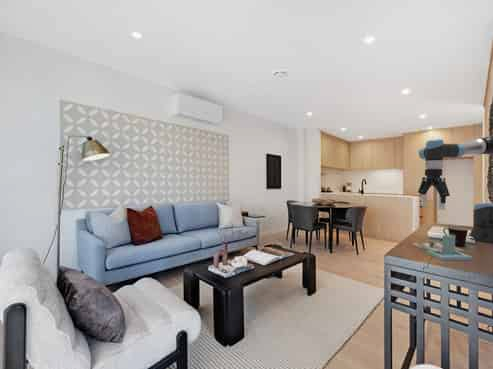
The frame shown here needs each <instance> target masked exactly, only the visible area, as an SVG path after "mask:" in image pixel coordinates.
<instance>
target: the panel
mask: <svg viewBox="0 0 493 369" xmlns="http://www.w3.org/2000/svg"><path fill="white" fill-rule="evenodd" d="M441 243H442V250H425V252H426V254H428V255H430V256H432V257H434V258H436V259H438V260H441V261H457V260H458V261H460V260H463V261H472V260H473V255H469V254H466V253H465V252H459V251H456V250H455V247H456V246H455V237H454V236H451V235H449V234H447V235H445V234H443V235H442V241H441Z"/></svg>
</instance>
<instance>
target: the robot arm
mask: <svg viewBox="0 0 493 369" xmlns="http://www.w3.org/2000/svg"><path fill="white" fill-rule="evenodd" d="M466 155H475V156H476V155H477V156H478V155H479V156H480V155H493V135H490V136H485V137H482V138H475V139H473V140H471V141H464V142H463V141H461V142H455V143H445V142H444V140H443V139H439V138H438V139H429V140H427V141H426V143H425V147H422V148H420V149H419V150H418V157H419V158H420V159H422V160H425V161H424V162H425V163H424V168H425V169H424V176H425V177H422V179H421V183H420V186H419V188H418V191H417V193H419V194H420V206H421V207H426V206H427V198H428V197H427V196H428V195H427V192H428V191H429V190H430V188H431V187H434V188H435V190H436V191H437V193H438V195H439V196H438V204H437V206H438V210H440V211H441V210H442V211H443V210H445V209H446V202H447V197H450V196H451V195H450V191H449V189H448V185H447V183H446V177H441V176H443V168H444V166H443V165H444V159H451V158H452V159H457V158H458V159H459V158H461V157H463V156H466ZM472 223H473V224H472V225H473V226H472V227H471V230H470V232H469V233H468V234H469V236H471V237H473V238H474V239H475V240H474V241H478V242H483V243H489V244H490V243H491V244H493V203H492V202H491V203H488V202H487V203H476V204H474V206H473V222H472ZM469 236H468V237H469Z"/></svg>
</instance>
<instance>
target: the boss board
mask: <svg viewBox="0 0 493 369" xmlns="http://www.w3.org/2000/svg"><path fill="white" fill-rule="evenodd" d="M412 245H413V246H414V247H416V248H420V249H421V250H424V251H426V250H442V242H435V241H433V240H429V241H428V242H413V243H412ZM455 250H456V251H459V252H461V253H465V250H464V249H461V248H460V247H459V248H458V247H457V246H455Z"/></svg>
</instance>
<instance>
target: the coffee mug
mask: <svg viewBox="0 0 493 369" xmlns="http://www.w3.org/2000/svg"><path fill="white" fill-rule="evenodd" d="M445 230H448V234H447V233H446V231H445ZM442 231H443V232H442V233H443V235H451V236H454V237H455V247H456V248H458V247H459V248H463V247H466V246H465V245H466V240H467V235H468V231H469V229H468V228H465V227H461V226H448V227H444V228H443V230H442Z"/></svg>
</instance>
